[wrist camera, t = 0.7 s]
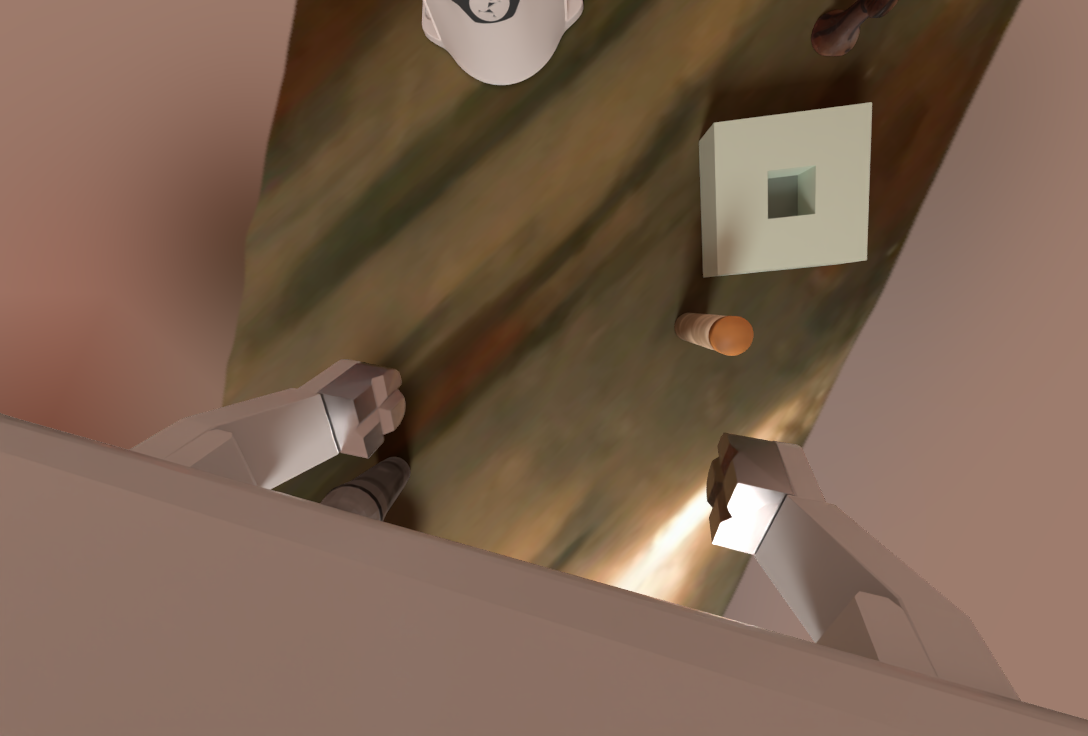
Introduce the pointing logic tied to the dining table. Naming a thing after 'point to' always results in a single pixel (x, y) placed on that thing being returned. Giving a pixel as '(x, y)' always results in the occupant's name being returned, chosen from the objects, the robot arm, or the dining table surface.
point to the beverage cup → (371, 489)
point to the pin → (715, 332)
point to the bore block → (785, 190)
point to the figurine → (845, 26)
